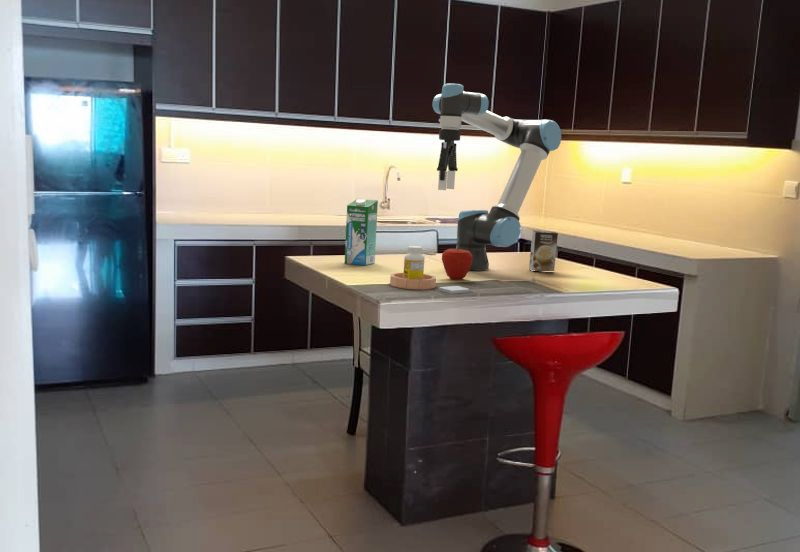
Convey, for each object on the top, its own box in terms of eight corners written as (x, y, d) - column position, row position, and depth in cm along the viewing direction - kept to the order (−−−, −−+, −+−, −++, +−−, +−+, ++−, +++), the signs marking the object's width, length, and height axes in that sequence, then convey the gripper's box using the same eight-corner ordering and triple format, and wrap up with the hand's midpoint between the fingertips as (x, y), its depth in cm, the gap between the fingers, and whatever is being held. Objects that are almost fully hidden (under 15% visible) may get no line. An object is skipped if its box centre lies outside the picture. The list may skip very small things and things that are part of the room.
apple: (435, 277, 278) (437, 244, 276) (461, 277, 282) (464, 244, 280) (449, 283, 268) (451, 248, 266) (476, 282, 272) (478, 248, 270)
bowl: (420, 282, 266) (421, 272, 266) (443, 290, 253) (444, 279, 253) (382, 283, 259) (382, 273, 258) (404, 291, 246) (404, 280, 246)
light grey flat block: (457, 288, 254) (457, 285, 254) (470, 292, 249) (470, 289, 249) (438, 290, 249) (438, 287, 249) (451, 293, 244) (451, 290, 244)
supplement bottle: (402, 283, 259) (404, 245, 257) (421, 283, 260) (424, 246, 258) (403, 286, 252) (405, 247, 251) (423, 287, 253) (426, 248, 251)
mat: (461, 289, 256) (462, 288, 256) (477, 294, 248) (477, 293, 248) (431, 291, 250) (431, 289, 250) (445, 296, 242) (446, 294, 242)
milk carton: (344, 263, 301) (347, 199, 297) (354, 260, 310) (357, 198, 306) (365, 265, 298) (368, 200, 294) (374, 263, 306) (378, 200, 302)
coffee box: (531, 272, 306) (535, 231, 304) (528, 269, 312) (531, 230, 310) (554, 273, 306) (558, 233, 304) (551, 270, 313) (554, 231, 310)
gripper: (447, 130, 285) (443, 187, 288) (431, 126, 261) (427, 189, 264) (467, 131, 283) (463, 189, 286) (453, 127, 259) (449, 191, 262)
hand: (446, 189), depth 275 cm, fingers open, 13 cm apart
